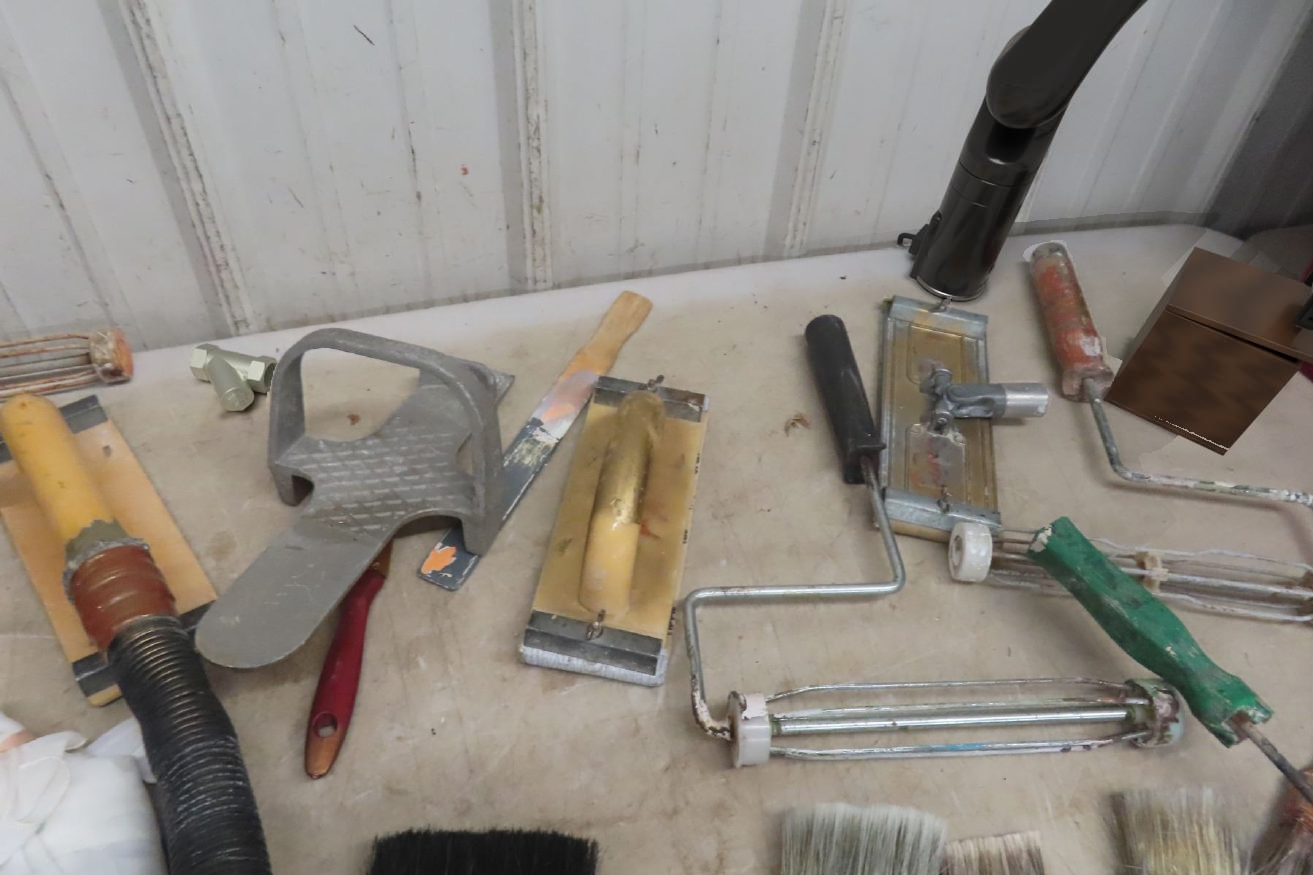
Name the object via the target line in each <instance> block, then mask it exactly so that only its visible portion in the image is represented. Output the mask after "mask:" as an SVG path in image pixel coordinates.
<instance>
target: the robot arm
mask: <svg viewBox="0 0 1313 875" xmlns="http://www.w3.org/2000/svg"><path fill="white" fill-rule="evenodd" d="M1148 1H1149V0H1050V1H1049V3H1048V4H1047V5H1046V7H1045V8H1043V10H1042V11H1041V12H1040V14H1039V15H1038V16H1037V17H1036V18H1035V19H1034V20H1033V21H1032V23H1031V24H1029V25H1027V26H1025V27H1023V28H1021V29H1020V30H1019V31H1017V32H1016V33H1015V34H1014V35H1012V36H1011V37H1010V39H1008V41H1007V42H1006V44H1005V45H1004V46H1003V48H1002V49H1001V51H1000V52H999V54H998V56H997V57H996V59H995V60H994V62H993V64H992V66H991V68H990V70H989V73H988V76H987V80H986V85H985V94H984V96H983V99H982V101H981V104H980V107H979V109H978V111H977V113H976V116H975V118H974V120H973V122H972V124H971V127H970V129H969V131H968V133H967V135H966V138H965V139H964V142H963V145H962V148H961V151H960V153H959V156H958V159H957V161H956V164H955V166H954V169H953V172H952V174H951V177H950V180H949V182H948V185H947V188H946V190H945V192H944V195H943V197H942V201H941V203H940V206H939V208H938V209H937V210H936V211H935V212H934V213H933V215H932V216H931V218H930V220H929V222H928V223H925V224H923V226H922V227H921V228H920V229H919V230H918V232H917V233H916V234H914V233H911V232H901V233H899V234H898V236H897V240H896V242H897V244H898V245H903V243H904V240H905V239H907V240H911V243H910V246H909V248H908V251H907V253H908V254H910V255H913V256H915V259H914V262H913V265H912V268H911V270H910V273H909V277H911V278H913V279H915V280H916V281H917V282H918V284H920V286H921V287H922V288H924V289H925V290H926V291H927V292H929V293H931V294H932V295H934V296H936V297H939V298H941V299H945V298H946V297H952V300H951V301H956V302H965V301H972V300H975V299H977V298H978V297H980V296H981V295H982V294H983V292H984V290H985V287H986V284H987V282H988V280H989V278H990V276H991V275H992V272H993V271H994V269H995V266H996V264H997V261H998V259H999V256H1000V253H1001V251H1002V249H1003V247H1004V245H1005V243H1006V240H1007V239H1008V236H1009V234H1010V232H1011V230H1012V228H1013V226H1014V223H1015V222H1016V219H1017V217H1018V216H1019V213H1020V211H1021V209H1022V207H1023V204H1024V203H1025V200H1026V199H1027V196H1028V194H1029V191H1030V189H1031V187H1032V185H1033V184H1034V181H1035V179H1036V176H1037V174H1038V173H1039V170H1040V169H1041V166H1042V164H1043V162H1044V160H1045V157H1046V155H1047V154H1048V151H1049V149H1050V147H1051V145H1052V142H1053V140H1054V138H1055V136H1056V134H1057V131H1058V129H1059V126H1060V125H1061V122H1062V120H1063V118H1064V116H1065V114H1066V112H1067V111H1068V110H1067V109H1068V107H1069V105H1070V103H1071V101H1072V99H1073V97H1074V95H1075V94H1076V92H1077V90H1078V89H1079V87H1081V85H1082V83H1083V82H1084V80H1085V79H1086V77H1087V76H1088V74H1089V73H1090V71H1091V70H1092V69H1093V67H1094V66H1095V65H1096V63H1097V62H1098V60H1099V59H1100V58H1101V56H1102V55H1103V53H1104V52H1105V50H1106V49H1107V48H1108V46H1109V45H1110V44H1111V42H1112V41H1113V40H1114V38H1115V37H1116V36H1117V35H1118V34H1119V32H1120V30H1122V28H1123V27H1124V26H1125V25H1126V24H1127V23H1128V22H1129V21H1130V19H1131V18H1132V17H1133V16H1134V15H1135V14H1136V13H1137V12H1138V11H1139V10H1140V9H1141V8H1142V7H1143V6H1144V5H1145V4H1146V3H1147V2H1148ZM1304 284H1305V285H1307V286H1309V287H1312V284H1313V268H1312V269H1311V271H1310V272H1309V273H1308V274H1307V275H1306V277H1305V279H1304ZM1293 323H1294V324H1296V325H1298V326H1300V327H1303V328H1305V329H1308V330H1313V294H1312V296H1311V297H1310V298H1309V299H1308V301H1307V302H1306V303H1305V304H1304V305H1303V307H1302V308H1301V309H1300V310H1299V311H1298V313H1297V314H1296V315H1295V316H1294V320H1293Z"/></svg>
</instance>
